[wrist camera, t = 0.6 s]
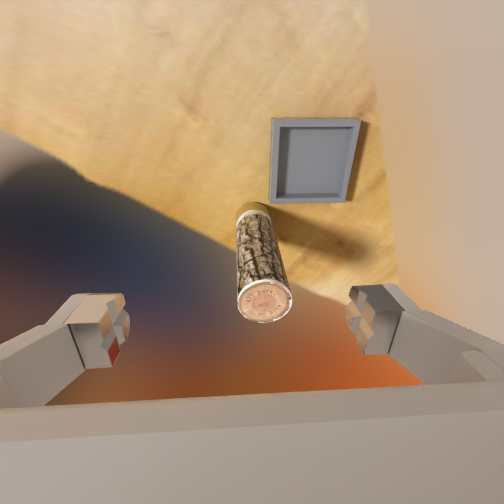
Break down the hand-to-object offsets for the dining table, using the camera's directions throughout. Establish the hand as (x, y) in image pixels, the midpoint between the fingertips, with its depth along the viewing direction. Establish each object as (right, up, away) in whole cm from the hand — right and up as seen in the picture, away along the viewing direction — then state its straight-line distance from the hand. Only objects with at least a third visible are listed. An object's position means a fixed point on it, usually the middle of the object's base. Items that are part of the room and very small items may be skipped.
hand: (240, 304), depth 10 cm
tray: (+11, +19, +39) cm, 45 cm away
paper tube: (+1, +9, +45) cm, 46 cm away
